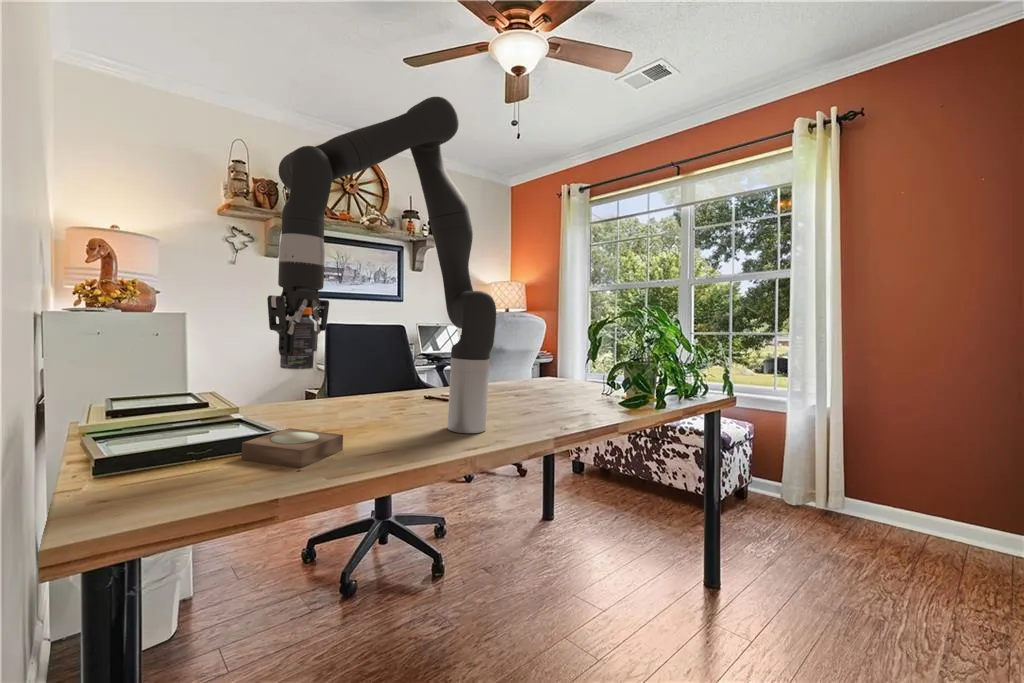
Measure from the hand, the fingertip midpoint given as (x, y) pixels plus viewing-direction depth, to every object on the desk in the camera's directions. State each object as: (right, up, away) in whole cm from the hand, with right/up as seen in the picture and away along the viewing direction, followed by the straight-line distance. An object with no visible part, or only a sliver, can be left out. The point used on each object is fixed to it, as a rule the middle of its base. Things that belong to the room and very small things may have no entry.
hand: (298, 354), depth 86 cm
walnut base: (-1, -18, +1) cm, 18 cm away
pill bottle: (0, -3, 0) cm, 3 cm away
